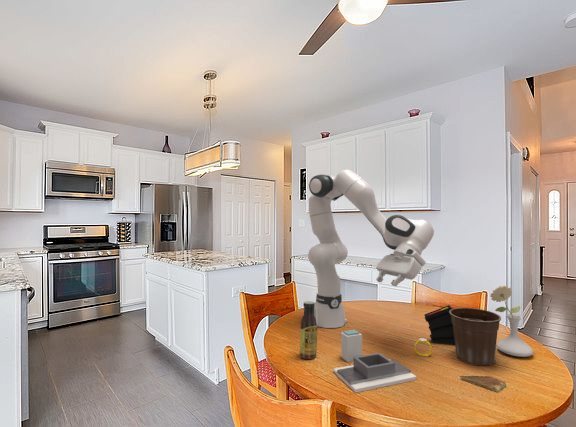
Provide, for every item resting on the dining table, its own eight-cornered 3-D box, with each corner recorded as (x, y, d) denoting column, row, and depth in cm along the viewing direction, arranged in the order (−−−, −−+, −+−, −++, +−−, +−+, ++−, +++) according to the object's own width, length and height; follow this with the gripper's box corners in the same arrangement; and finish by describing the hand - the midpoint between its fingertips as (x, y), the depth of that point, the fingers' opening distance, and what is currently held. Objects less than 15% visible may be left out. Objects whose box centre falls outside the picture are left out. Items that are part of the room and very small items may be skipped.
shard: (459, 380, 103) (459, 375, 103) (469, 373, 108) (469, 367, 108) (498, 394, 95) (498, 388, 95) (507, 386, 100) (507, 380, 100)
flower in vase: (527, 349, 126) (525, 283, 126) (538, 361, 115) (537, 290, 115) (488, 345, 130) (486, 282, 130) (495, 356, 119) (494, 287, 119)
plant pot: (502, 373, 107) (501, 323, 107) (447, 362, 115) (446, 316, 115) (501, 355, 120) (500, 311, 121) (452, 346, 129) (451, 305, 129)
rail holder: (333, 371, 109) (333, 356, 109) (389, 361, 116) (388, 347, 116) (355, 392, 96) (355, 375, 96) (416, 379, 103) (416, 363, 103)
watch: (415, 356, 121) (413, 340, 121) (414, 353, 123) (413, 337, 124) (433, 357, 119) (431, 340, 119) (432, 354, 122) (430, 338, 122)
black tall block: (470, 342, 129) (451, 306, 131) (437, 353, 132) (420, 318, 134) (468, 339, 132) (450, 304, 134) (436, 350, 136) (419, 316, 137)
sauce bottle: (305, 361, 117) (304, 305, 117) (296, 355, 123) (296, 301, 123) (320, 357, 120) (320, 303, 120) (311, 351, 126) (311, 299, 126)
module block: (341, 357, 120) (341, 330, 121) (355, 354, 122) (355, 328, 123) (347, 362, 116) (347, 335, 116) (362, 359, 118) (361, 332, 118)
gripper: (384, 248, 137) (365, 274, 134) (418, 251, 118) (397, 281, 114) (394, 258, 138) (375, 284, 135) (429, 263, 119) (408, 293, 116)
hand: (385, 283), depth 125 cm, fingers open, 8 cm apart
